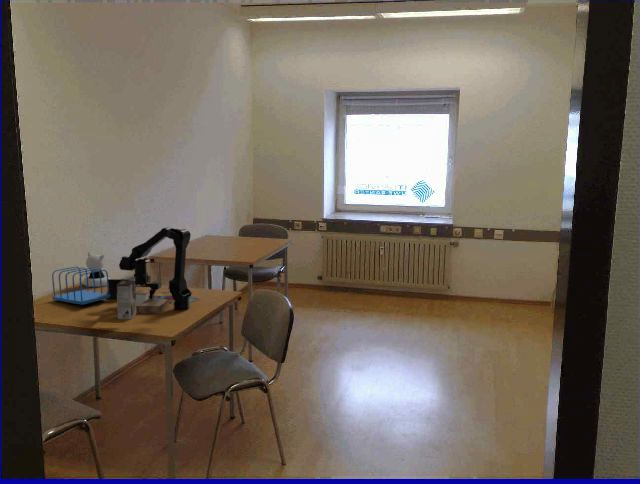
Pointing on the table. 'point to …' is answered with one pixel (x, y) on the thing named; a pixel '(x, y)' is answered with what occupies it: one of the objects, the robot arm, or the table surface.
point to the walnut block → (153, 306)
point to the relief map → (170, 297)
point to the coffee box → (126, 299)
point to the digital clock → (130, 278)
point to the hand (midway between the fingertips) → (141, 302)
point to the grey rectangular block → (113, 288)
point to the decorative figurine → (95, 263)
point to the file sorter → (80, 295)
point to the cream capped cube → (141, 297)
